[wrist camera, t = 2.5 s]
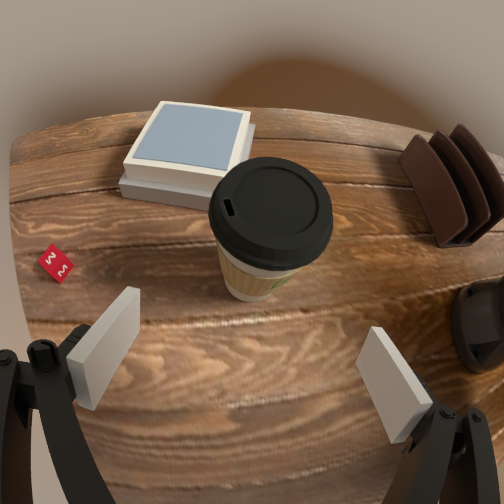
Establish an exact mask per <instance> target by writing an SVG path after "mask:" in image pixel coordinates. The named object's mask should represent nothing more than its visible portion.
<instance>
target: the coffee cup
mask: <svg viewBox="0 0 504 504" xmlns="http://www.w3.org/2000/svg"><path fill="white" fill-rule="evenodd" d="M208 216H209V221H210V226H211V229H212V231H213V233H214V235H215V239H216V244H217V249H218V255H219V260H220V265H221V270H222V274H223V276H224V280H225V284H226V287H227V289H228V290H229V291H230V293H231V294H232V295H233V296H234V297H236V298H238V299H239V300H242V301H245V302H258V301H261V300H264V299H266V298H267V297H268V296H270V295H271V294H272V293H273V292H275V291H276V290H278V289H279V288H280V287H281V286H282V285H283V284H285V283H286V282H287V281H288V280H289V279H290V278H291V277H292V276H293V275H295V274H296V273H297V272H298V271H299V270H300V269H301V268H302V267H303V266H305V265H308V264H309V263H311V262H312V261H314V260H315V259H317V258H318V257H319V256H320V255H321V253H322V252H323V251H324V250H325V248H326V246H327V245H328V243H329V241H330V237H331V234H332V229H333V214H332V203H331V199H330V196H329V194H328V192H327V190H326V188H325V187H324V185H323V184H322V182H321V181H320V180H319V179H318V178H317V177H316V176H315V175H314V174H313V173H311V172H310V171H309V170H307V169H306V168H304V167H303V166H301V165H299V164H297V163H294V162H292V161H289V160H286V159H281V158H276V157H258V158H253V159H249V160H246V161H244V162H241V163H239V164H238V165H236V166H235V167H233V168H232V169H231V170H230V171H229V172H228V173H227V174H226V175H225V177H224V178H223V179H222V180H221V181H220V182H219V183H218V185H217V186H216V188H215V190H214V191H213V194H212V197H211V200H210V203H209V213H208Z"/></svg>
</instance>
